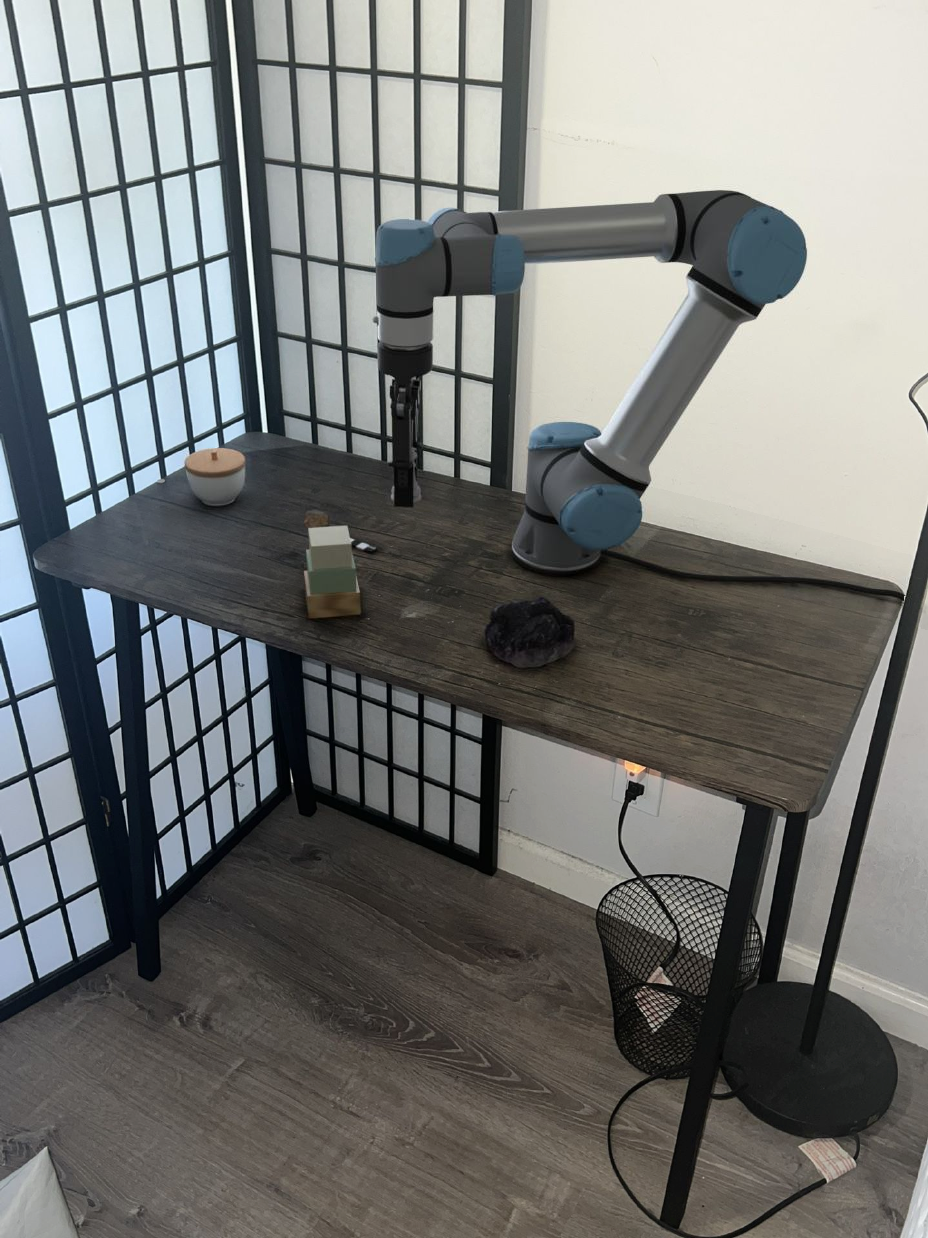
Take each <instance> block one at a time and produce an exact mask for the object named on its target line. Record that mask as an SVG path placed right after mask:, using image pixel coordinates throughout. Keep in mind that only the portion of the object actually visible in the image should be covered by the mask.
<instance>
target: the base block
mask: <svg viewBox="0 0 928 1238" xmlns="http://www.w3.org/2000/svg"><path fill="white" fill-rule="evenodd" d="M303 578H304V579H303V580H304V594H305V601H306V608H307V615H308V616H307V617H308V619H309V620H310V619H322V618H334V617H345V616H359V615H361V614H362V611H361V590H360V586H359V583H358V582H359V581H358V576H357V575H356V591H349V592H335V593H322V594H310V587H309V580H308V573H307V570H303Z"/></svg>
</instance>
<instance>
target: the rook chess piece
mask: <svg viewBox="0 0 928 1238" xmlns="http://www.w3.org/2000/svg"><path fill="white" fill-rule="evenodd" d="M415 449H416V447H413V448H412V461H413V464H414V467H415V466H416V464H415V463H414V460H415V459H416V457H417V458H418V453H417V454H416V452H415ZM390 492H391V495H390V498H391V500H392V502H394V485H393V486H392V487H391V491H390ZM421 492H422V490H421V488H420V486H419V484H418V481H417V482H416V479H415V472H414V505H416V504H418V503H419V502H420V501H421V499H422V495H421Z"/></svg>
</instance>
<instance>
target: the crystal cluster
mask: <svg viewBox="0 0 928 1238" xmlns="http://www.w3.org/2000/svg"><path fill="white" fill-rule="evenodd" d="M488 613H489V614H488V618H489V622H488V623H487V624H486V625H485V627H484V628H483V643H484V645H485V647H486V648H487V649H488V650H490V652H491V653H493V654H494V656H495V657H497V658H498V659H500V660H502V661H503V662H506V663H508V664H511V665H513V666H514V667H516V668H521V669H525V668H538V667H542V666H544V665H546V664H549V663H552V662H555V661H557V660H560V659H562V658H564V657H565V656H567V655H568V654H570V652H571V651H573V648H574V647H575V633H576V632H575V631H576V630H575V621H574V618H572V617H571V616H570V615H567V614H565V613H563V612H562V611H561V610H560V609H559V608H558V607H557V606H556V605H554V604H553V603H552V602H551V601H550V600H548V599H547V598H546V596H543V595H542V596H539V597H537V598H535V599H534V600H530V599H525V600H520V601H514V602H509V603H505V604H502V605H499V606H495V607H493V608H492V609H490V611H489V612H488Z"/></svg>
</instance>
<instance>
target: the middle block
mask: <svg viewBox="0 0 928 1238" xmlns="http://www.w3.org/2000/svg"><path fill="white" fill-rule="evenodd" d="M305 555H306V571H307V573H308V580H309V587H310V594H322V593H335V592H349V591H356V576H357V568H356V564H355V559H354V554H353V553H352V567H342V568H328V569H314V570H313V569H312V564H311V557H310V551H309V549H305Z"/></svg>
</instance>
